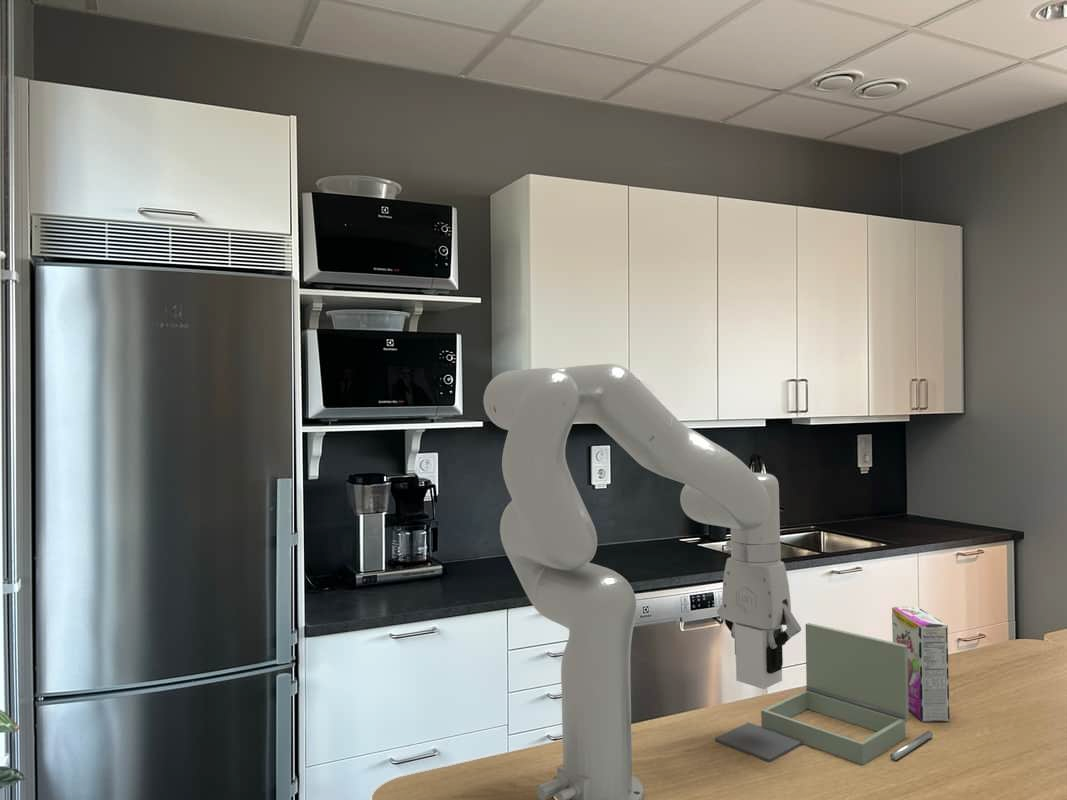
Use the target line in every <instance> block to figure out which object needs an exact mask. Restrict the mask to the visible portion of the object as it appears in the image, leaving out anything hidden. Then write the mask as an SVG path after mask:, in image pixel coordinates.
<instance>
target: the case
mask: <svg viewBox="0 0 1067 800" xmlns="http://www.w3.org/2000/svg"><path fill="white" fill-rule="evenodd" d="M805 670H806V671H805V674H806V675H805V677H806V678H805V679H806V687H805V690H802V691H801V692H798V693H795V694H794V695H792V696H789V697H788V698H787V697H786V698H785V699H783V700H780V701H779V702H776V703H774V704H772V705H770V706H767V707H765V708H764V709H761V710H760V713H761V715H760V719H761V720H760V721H761V725H760V727H763V728H766V729H768V730H771V731H774V732H777V733H780V734H782V735H785V736H788V737H791V738H794V739H796V740H799V741H802V742H803V744H802V745H805V746H806V745H807V746H809V747H812V748H814V749H818V750H821V751H823V752H826V753H828V754H832V755H834V756H836V757H839V758H843V759H844V760H848V761H851V762H854V763H856V764H859V765H862V766H864V765H865V764H867V763H869V762H870V761H871V760H873V759H874V758H877V757H878V756H880V755H881V754H883V753H885V752H886V751H888V750H889V749H891V748H893V747H894V746H896V745H898V744H899V743H901V742H902V741H904V740H906V723H908V722H909V720H910V715H909V714H910V713H909V712H910V710H909V702H908V646H907V645H903V644H898V643H894V642H893V641H890V640H885V639H880V638H877V637H871V636H867V635H863V634H859V633H853V632H850V631H846V630H841V629H837V628H833V627H828V626H824V625H819V624H816V623H811V622H807V623H805ZM807 710H809V711H812V712H814V713H815V712H816V713H819V714H821V715H824V716H828V717H830V718H834V719H836V720H837V719H838V720H840V721H843V722H847V723H851V724H853V725H856V726H859V727H863V728H865V729H868V730H871V731H873V732H874V731H875V733H873V734H871V735H869V736H868V737H867V738H864V739H863V740H861V741H859V740H857V739H853V738H850V737H847V736H844V735H841V734H838V733H835V732H833V731H830V730H828V729H827V730H826V729H824V728H821V727H817V726H815V725H811V724H808V723H806V722H803V721H800V720H798V719H794V718H792V717H794V716H797V715H798V714H801V713H803V712H805V711H807Z"/></svg>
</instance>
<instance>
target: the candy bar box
mask: <svg viewBox="0 0 1067 800" xmlns="http://www.w3.org/2000/svg"><path fill="white" fill-rule="evenodd" d="M891 615H892V616H891V619H892V623H891V626H892V642H894V643H898V644H903V645H907V646H908V702H909V712H911V713H912V714H913V715H914V716H915V717H916V718H917V719H919V720H920V722H923V723H940V722H941V723H942V722H950V688H949V687H950V686H949V684H950V683H949V642H948V638H949V637H948V635H949V634H948V632H949V631H948V628H949V627H948V624H946V623H945V622H943V621H941V620H940V619H938V618H936V617H935V616H934V615H932V614H930V613H928V612H927V611H925V610H923V609H922V608H920V607H919V606H902V607H901V606H894V607H891Z"/></svg>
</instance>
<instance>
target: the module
mask: <svg viewBox="0 0 1067 800" xmlns="http://www.w3.org/2000/svg"><path fill="white" fill-rule="evenodd" d="M774 632H775V630H774ZM775 636H776V634H775ZM735 645H736V655H735V671H736V672H735V673H736V675H735V677H736V678H735V679H736V681H737V682H740V683H743V684H746V685H750V686H751V687H752V686H753V687H755V688H759V689H762V690H765V689H767V688H770V687H771V686H774V685H776V684H778V683H780V682H782V681H783V668H782V669H781V670H779V671H777V672H775V673H772V674H770V673H768V672H767V656H766V649H767V647H770V646H769V642H768V638H767V634H766V630H763V629H758V628H754V627H750V626H746V625H742V624H738V623H737V624H735V639H734V646H735Z"/></svg>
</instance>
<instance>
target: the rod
mask: <svg viewBox="0 0 1067 800" xmlns="http://www.w3.org/2000/svg"><path fill="white" fill-rule="evenodd" d="M933 736H934V734H933V732H932V731H930V730H927V731H925V732H924V733H922V734H920V735H919V736H918V737H916V738H915V739H913V740H911V741H910V742H908V743H906V744H905V745H903V746H902V747H900V748H898V749H897V750H896V751H895V750H894V752H892V753H890V756H889V757H890V759H891V760H892V761H897V760H898V759H900V758H901V757H903V756H905V755H906V754H908V753H910V752H911V751H914V749H915V748H917V747H919V746H921V745H922V744H923V743H925V742H926V741H928V740H930V739H931V738H933Z"/></svg>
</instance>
